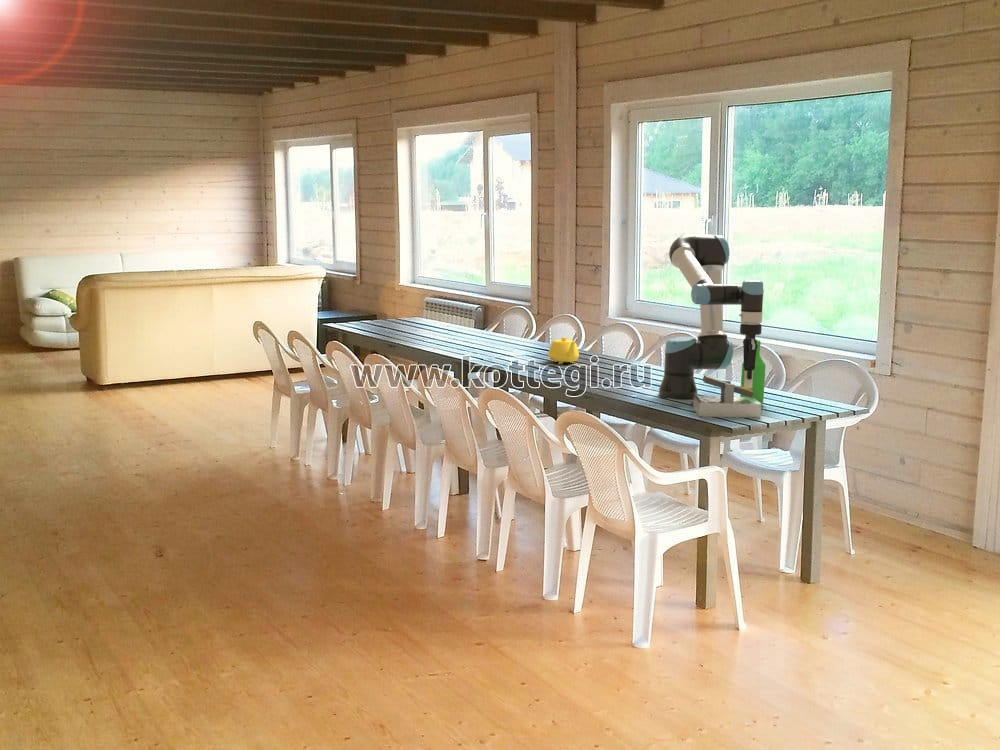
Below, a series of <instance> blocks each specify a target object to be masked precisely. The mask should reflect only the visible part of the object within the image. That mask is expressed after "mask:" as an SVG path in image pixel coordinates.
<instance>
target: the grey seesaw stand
mask: <svg viewBox="0 0 1000 750" xmlns="http://www.w3.org/2000/svg"><path fill="white" fill-rule="evenodd" d="M723 381H724V382H727V383H730V384H725V389H723V388H720V395H698V394H697V395H696V394H695V393H694V398H693V400H694V401H693V400H692V401H693V406H692V409H693V411H694V412H695V413H696V414H697V416H698V417H700V416H702V417H705V418H706V417H707V418H708V417H709V418H710V417H711V418H746V417H761V416H762V405H761V403H759V402H758V401H757V400H756V399H755V398H754V397H752V398H751V397H740V396H735V392H734V385H735V384H734V383H731V380H723ZM761 418H762V417H761ZM746 419H747V418H746Z"/></svg>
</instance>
